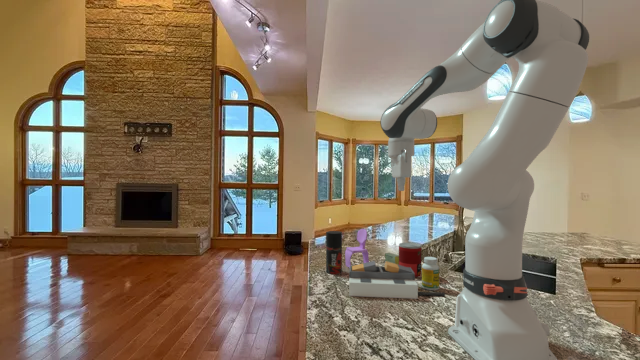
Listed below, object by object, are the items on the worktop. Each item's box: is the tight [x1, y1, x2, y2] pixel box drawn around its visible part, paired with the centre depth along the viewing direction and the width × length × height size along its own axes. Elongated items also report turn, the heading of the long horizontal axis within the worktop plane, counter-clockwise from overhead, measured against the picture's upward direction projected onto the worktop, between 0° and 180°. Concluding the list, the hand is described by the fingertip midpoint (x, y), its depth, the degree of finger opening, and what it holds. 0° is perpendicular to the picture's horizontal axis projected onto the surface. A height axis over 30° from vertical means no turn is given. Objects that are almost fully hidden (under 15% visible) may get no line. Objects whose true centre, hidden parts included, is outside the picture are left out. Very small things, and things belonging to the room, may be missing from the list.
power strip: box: [348, 265, 446, 300], centre depth 98 cm, size 12×28×6 cm, turn 84°
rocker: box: [351, 260, 377, 272], centre depth 101 cm, size 5×8×2 cm, turn 84°
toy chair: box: [344, 228, 370, 269], centre depth 125 cm, size 8×9×15 cm
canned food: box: [398, 242, 422, 278], centre depth 115 cm, size 8×8×11 cm
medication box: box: [384, 252, 399, 265], centre depth 128 cm, size 12×3×4 cm, turn 29°
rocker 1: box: [383, 261, 411, 273], centre depth 100 cm, size 5×8×2 cm, turn 84°
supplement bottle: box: [421, 256, 440, 291], centre depth 101 cm, size 5×5×10 cm
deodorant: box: [325, 230, 343, 275], centre depth 118 cm, size 6×6×15 cm
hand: (401, 190), depth 109 cm, fingers closed
